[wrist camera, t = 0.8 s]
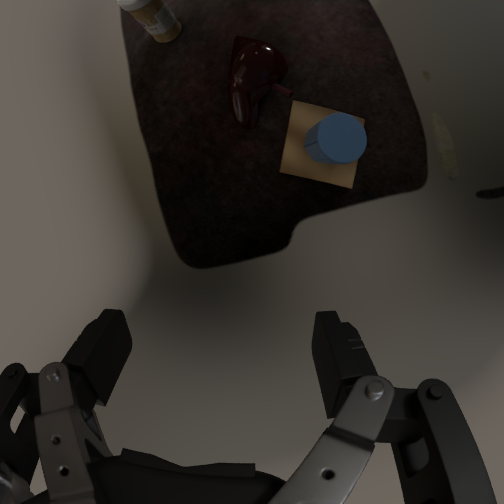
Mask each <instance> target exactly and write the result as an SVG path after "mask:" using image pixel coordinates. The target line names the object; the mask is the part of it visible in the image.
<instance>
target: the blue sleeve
mask: <svg viewBox="0 0 504 504" xmlns="http://www.w3.org/2000/svg"><path fill="white" fill-rule="evenodd" d="M366 143H367V137H366V133H365V130H364V128H363V126H362V125H361V123H360V122H359V121H358V120H357V119H356V118H354V117H353V116H351V115H348V114H345V113H333V114H331V115H329V116H327V117H326V118H324V119H322V120H321V121H319V122H318V123H317V124H316V125H314V126H313V127H312V128H310V129H309V130H308V132H307V133H306V137H305V142H304V146H305V150H306V151H307V153H308V154H309V156H310V157H311V159H312V160H314V161H316V162H320V163H324V164H349V163H350V162H353V161H355V160H357V159H358V158H359V157H360V156H361V155H362V154H363V152H364V151H365V148H366Z"/></svg>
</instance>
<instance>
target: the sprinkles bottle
mask: <svg viewBox="0 0 504 504" xmlns="http://www.w3.org/2000/svg"><path fill="white" fill-rule="evenodd" d="M116 2H117V3H118V5H119V6H120V7H121V8H123V9H124V10H126V11H128V12H129V13H130V14H131V15H132V16H134V18H136V20H137V21H138V22H139V23H140V24H141V25H142V26H143V27H144V28H145V29H146V30H147V31H148V32H149V33H150V34H151V35H152V36H153V37H154V39H155V40H156V41H158V42H161V43H165V42H169V41H172V40H173V39H175V38H176V37H177V36H178V35H179V34H180V32H181V28H182V27H181V24H180V23H179V22H178V21H177V20H176V18H175V16H174V14H173V13H172V11H171V10H170V8H169V7H168V6H167V4H166V3H165V1H164V0H116Z"/></svg>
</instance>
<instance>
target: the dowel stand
mask: <svg viewBox="0 0 504 504" xmlns="http://www.w3.org/2000/svg"><path fill="white" fill-rule="evenodd" d="M333 113H342V112H338V111H335V110H331V109H327V108H324V107H320V106H316V105H312V104H307V103H303V102H298V101H293V102H292V107H291V113H290V118H289V124H288V129H287V134H286V140H285V145H284V150H283V155H282V161H281V166H280V171H279V172H281V173H286V174H291V175H296V176H300V177H305V178H309V179H314V180H318V181H322V182H327V183H331V184H335V185H339V186H343V187H347V188H351V189H352V186H353V181H354V177H355V172H356V167H357V162H358V159H357V160H355V161H353V162H350V163H349V164H324V163H320V162H316V161H314V160H312V159H311V157H310V156H309V154H308V153H307V151H306V150H305V146H304V142H305V137H306V133H307V132H308V130H309V129H310V128H312V127H313V126H314V125H316V124H317V123H318V122H319V121H321V120H322V119H324V118H326V117H327V116H329V115H331V114H333ZM348 115H349V114H348ZM351 116H352V115H351ZM353 117H354V118H356V119H357V120H358V121H359V122H360V123H361V125H362V126H363V128H364V121H365V120H364V119H362V118H358V117H355V116H353Z"/></svg>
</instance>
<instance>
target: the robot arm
mask: <svg viewBox="0 0 504 504" xmlns="http://www.w3.org/2000/svg"><path fill="white" fill-rule="evenodd" d="M131 350H132V338H131V335H130V331H129V328H128V325H127V322H126V319H125V316H124V313H123V312H122V310H115V309H104V310H103V312H102V313H101V314H100V316H99V317H98V318H97V319H95V320H94V321H92V322H91V323H89V324H88V325H87V326H86V327H85V328H84V330H83V331H82V333H81V335H79V337H78V338H77V341H75V342H74V344H73V345H72V347H71V348H70V349H69V351H68V352H67V354H66V355H65V357H64V358H63V360H62V361H61V362H53V363H50V364H48V365H46V366H45V367H44V368H43V369H42V370H41V371H40V373H28V372H27V371H26V369H25V368H24V366H23V365H22V364H20V363H13V364H10V365H9V366H7V367H6V368H5V369H4V371H3V372H2V373H1V375H0V504H344V502H345V501H346V499H347V498H348V496H349V494H350V493H351V491H352V490H353V488H354V486H355V484H356V483H357V481H358V479H359V477H360V476H361V474H362V472H363V470H364V468H365V466H366V465H367V463H368V461H369V459H370V457H371V455H372V452H373V450H374V448H375V445H374V443H375V442H380V443H391V447H392V450H393V454H394V458H395V462H396V466H397V470H398V474H399V479H400V483H401V488H402V492H403V497H404V502H405V504H497V502H496V498H495V495H494V492H493V488H492V486H491V482H490V479H489V476H488V473H487V470H486V467H485V465H484V462H483V459H482V457H481V454H480V452H479V449H478V447H477V444H476V442H475V440H474V437H473V435H472V433H471V430H470V428H469V426H468V424H467V422H466V420H465V417H464V415H463V413H462V411H461V409H460V407H459V405H458V403H457V401H456V399H455V397H454V395H453V393H452V391H451V389H450V388H449V386H448V385H447V384H446V383H444V382H443V381H441V380H438V379H427V380H424V381H423V382H421V384H420V385H419V386H418V388H417V389H405V388H396V387H393V385H392V384H391V382H390V381H389V380H387V379H386V378H384V377H382V376H379V375H378V374H377V372H376V369H375V367H374V365H373V363H372V360H371V359H370V356H369V354H368V352H367V350H366V348H365V345H364V343H363V341H362V340H361V337H360V335H359V333H358V331H357V329H356V328H354V327H353V326H352V325H351V324H350V323H349V322H343V323H341V321H340V319H339V317H338V314H337V312H336V311H322V312H317V313H316V316H315V323H314V331H313V338H312V355H313V360H314V363H315V367H316V372H317V375H318V380H319V384H320V388H321V393H322V397H323V401H324V405H325V410H326V415H327V419H330V418H335V419H334V420H333V422H332V424H331V425H330V426H329V428H326V430H325V431H324V432H323V434H322V435H321V436H320V438H319V439H318V441H317V442H316V444H315V445H314V447H313V448H312V450H311V451H310V452H309V454H308V455H307V456H306V458H305V459H304V460H303V462H302V463H301V464H300V466H299V467H298V468H297V469H296V471H295V472H294V473H293V474H292V476H291V477H290V478H289V480H288V481H287V482H286V481H284V480H282V479H280V478H278V477H276V476H274V475H271V474H268V473H264V472H260V471H255V463H251V464H250V463H246V464H245V463H214V464H207V465H199V466H190V467H183V466H179V465H177V464H174V463H171V462H169V461H167V460H164V459H162V458H159V457H157V456H155V455H152V454H147V453H142V452H138V451H133V450H129V449H125V448H123V449H122V452H121V455H118V456H113V455H112V453H111V452H110V450H109V448H108V446H107V444H106V441H105V439H104V436H103V434H102V431H101V428H100V425H99V422H98V419H97V416H96V413H95V411H94V410H93V408H94V406H95V404H97V405H101V406H106V404H107V402H108V399H109V397H110V395H111V393H112V391H113V388H114V386H115V384H116V382H117V380H118V378H119V375H120V373H121V371H122V369H123V367H124V365H125V363H126V361H127V358H128V356H129V354H130V352H131ZM18 405H19V406H20V407H21V408H22V409H23V410H24V412H25V414H24V416H23V418H22V420H21V422H20V424H19V426H18V428H17V430H16V433H15V434H14V433H13V432H12V430H11V428H10V421H11V419H12V417H13V415H14V413H15V411H16V409H17V407H18ZM39 457H40V461H41V465H42V470H43V473H44V478H45V482H46V485H47V490H45V491H44V492H41V493H39V494H37V495H36V496H34V494H33V493H32V492H30V484H31V480H32V477H33V474H34V471H35V468H36V466H37V463H38V460H39Z"/></svg>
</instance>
